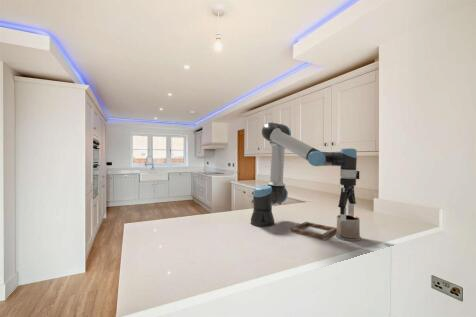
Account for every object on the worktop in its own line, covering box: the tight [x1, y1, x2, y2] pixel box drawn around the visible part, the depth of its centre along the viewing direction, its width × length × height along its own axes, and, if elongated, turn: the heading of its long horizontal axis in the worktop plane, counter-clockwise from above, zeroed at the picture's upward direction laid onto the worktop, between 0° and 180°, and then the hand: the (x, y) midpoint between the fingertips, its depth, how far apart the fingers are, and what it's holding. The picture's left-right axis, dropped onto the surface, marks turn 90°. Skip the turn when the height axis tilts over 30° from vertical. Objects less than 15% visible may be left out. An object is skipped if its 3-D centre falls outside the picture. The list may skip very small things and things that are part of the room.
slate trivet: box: [335, 232, 362, 242], centre depth 116 cm, size 12×12×1 cm
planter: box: [336, 214, 361, 239], centre depth 116 cm, size 11×11×10 cm
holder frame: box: [290, 221, 337, 241], centre depth 126 cm, size 19×19×2 cm
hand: (347, 218), depth 117 cm, fingers open, 13 cm apart
